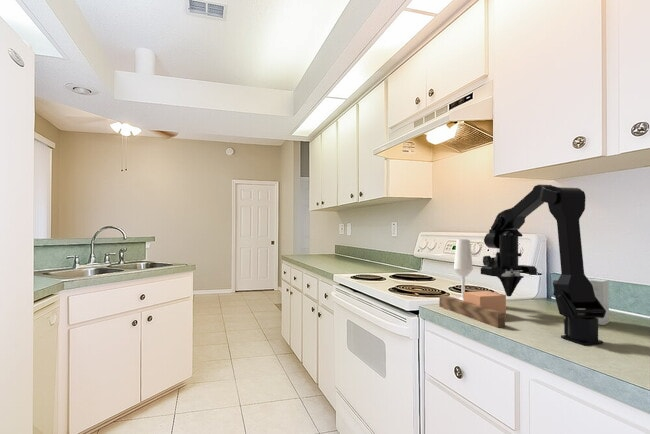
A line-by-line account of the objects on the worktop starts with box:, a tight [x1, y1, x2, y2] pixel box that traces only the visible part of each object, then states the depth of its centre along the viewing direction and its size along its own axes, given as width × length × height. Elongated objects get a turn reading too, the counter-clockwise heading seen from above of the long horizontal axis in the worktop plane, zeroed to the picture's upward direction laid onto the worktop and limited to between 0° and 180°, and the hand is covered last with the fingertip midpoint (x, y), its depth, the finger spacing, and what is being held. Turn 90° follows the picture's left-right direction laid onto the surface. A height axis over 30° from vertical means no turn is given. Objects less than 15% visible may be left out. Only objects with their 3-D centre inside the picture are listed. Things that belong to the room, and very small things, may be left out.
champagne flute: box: [453, 238, 474, 300], centre depth 136 cm, size 7×7×24 cm
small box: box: [587, 277, 610, 326], centre depth 111 cm, size 8×6×13 cm
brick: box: [463, 290, 507, 318], centre depth 118 cm, size 8×10×7 cm
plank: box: [438, 294, 506, 329], centre depth 116 cm, size 28×2×4 cm, turn 17°
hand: (508, 296), depth 120 cm, fingers closed
